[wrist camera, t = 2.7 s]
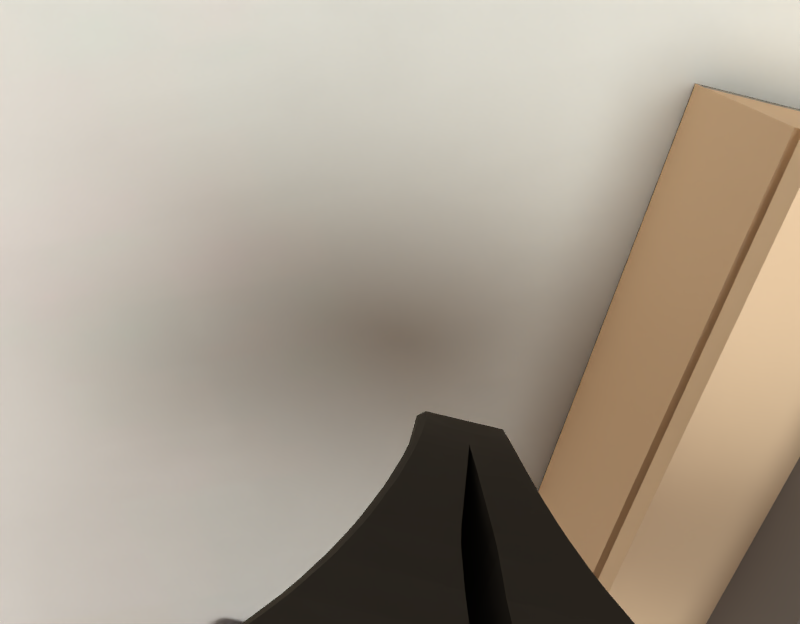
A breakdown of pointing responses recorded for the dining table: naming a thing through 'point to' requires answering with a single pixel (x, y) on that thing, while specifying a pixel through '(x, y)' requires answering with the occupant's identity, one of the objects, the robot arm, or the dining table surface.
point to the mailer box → (665, 308)
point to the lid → (728, 458)
